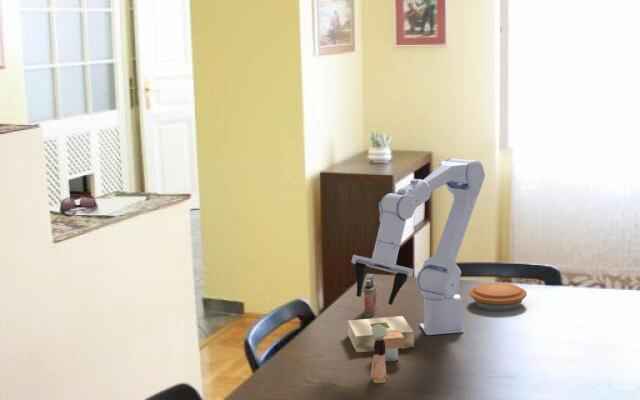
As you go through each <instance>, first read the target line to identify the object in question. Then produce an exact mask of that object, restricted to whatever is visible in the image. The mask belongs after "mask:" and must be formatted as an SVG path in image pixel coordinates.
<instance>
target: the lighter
mask: <svg viewBox="0 0 640 400" xmlns="http://www.w3.org/2000/svg"><path fill="white" fill-rule="evenodd" d="M377 287H378V285H377V282H376V281H374V275H373V274H371V273H370V274H368V276H365V283H364V284H363V288H362V292H363V296H364V297H363V298H364V301H363V302H364V310H363V317H366V318H374V317H375V316H376V315H377V313H378V305H377V297H378V291H377Z"/></svg>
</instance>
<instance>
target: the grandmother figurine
mask: <svg viewBox="0 0 640 400" xmlns="http://www.w3.org/2000/svg"><path fill="white" fill-rule="evenodd" d="M372 333H373V334H372V336H373V338H374V340H375V344H374V351H373V352H374V353H373V359H372V361H371V362H372V363H371V371H370V377H371V378H373V380H372V381H373V383H374V384H385V383H386V382H387V380H386V379H388V375H387V367H386V366H387V365H386V361H385V353H386V352H387V350H386V347H385V342H384V340H383V338H384V337H385V336H386V335H387V331H386V329H385V327H383V326H382V325H380V324H376V325H374V326H373V328H372Z"/></svg>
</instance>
